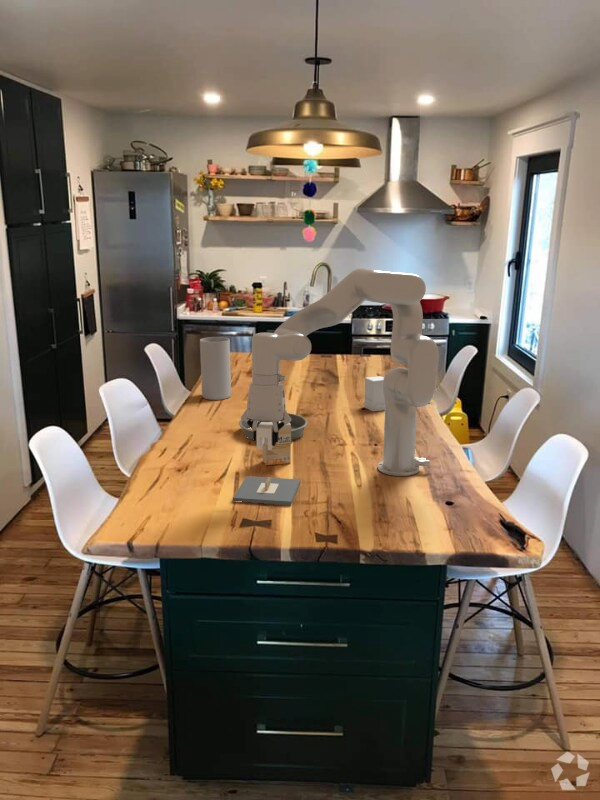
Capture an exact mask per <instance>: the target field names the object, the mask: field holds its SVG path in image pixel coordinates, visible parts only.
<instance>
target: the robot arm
mask: <svg viewBox="0 0 600 800" xmlns="http://www.w3.org/2000/svg"><path fill="white" fill-rule="evenodd" d="M426 289H427V288H426V282H425V281H424V279H423V278H422V277H421V276H420V275H418V274H415V273H408V272H403V271H393V270H390V271H384V270H378V269H371V268H370V269H369V268H356V269H354V270H352V271H351V272H349V274H347V275H346V276H345V277H344V278H342V279H341V281H339V282H338V283H337V284H336V285H335V286H334V287H333V288H331V290H329V291H328V292H327V293H326V294H325V295H324V296H322V297H321V298H320V299H318V300H317V301H314V302H312V303H310V304H309V305H307V306H306V307H303V308H301V309H300V310H298V311H296V312H295V313H293V314H292V315H291V316H289V317H288V318H287V319H286V320H285V321H284V322H282V323H281V324H280V325H279V326H278V327H277V328H276V329H275V330H274V332H268V331H267V332H258V333H254V335H253V336H252V338H251V382H250V383H249V387H248V392H247V404H246V409H245V410H244V412H243V414H242V415H241V416H240V420H241V419H242V420H243V421H244V422H246V423H247V424H248V425H249V426H250V427H251V428H252V430H253V431H254V440H253V441H254V442H255V443H254V444H255V446H257V440H256V428H257V427H258V425H259V421H272V423H273V432H272V445H273V446H275V444H276V442H278V435H279V430H280V429H281V428H282V427H283V426H284V425H286V424H288V423H290V422H291V418H290V416H289V414H288V413H289V412H287V410H286V407H287V406H286V395H285V394H286V393H285V387H284V383H283V382H284V381H286V375H282V372H281V361H291V362H296V361H302V360H304V359H306V358H307V357H309V355H310V353H311V351H312V343H311V340H310V339H309V337H308V335H310V334H312V333H313V332H315V331H318V330H319V329H323V328H328V327H333V326H336V325H338V324H341V323H342V322H343V321H344V320H345V319H346V318H347V317H349V316H350V315H351V314H352V313H353V312H354V311H356V309H358V307H360V306H361V305H362V304H363V303H364V302H371V303H378V304H387V305H389V307H390V308H391V312H392V331H391V341H390V355H391V358H392V359H393V360H394V361H395V362H397V363H399V364H402V365H403V366H404V365H405V366H407V368H406V367H401V366H400V367H393V368H392V369H389V370H388V371H387V372H386V373H385V375H384V380H383V394H384V401H385V410H384V425H383V428H384V429H383V451H382V452H383V453H382V455H383V457H382V459H383V460H381V461H379V462H378V464H377V469H378V471H380V473H383V474H385V475H388V476H394V477H407V476H408V477H409V476H413V475H416V474H417V473H418V472H420V466H421V467H430V466H431V465H430V464H431V463H430V460H429V459H427V460H426V458H425V457H418V456H417V454H416V439H417V421H418V420H417V419H418V417H417V416H418V413H417V408H423V407H426V406H427V405H429V404H430V403H431V401H432V399H433V398H434V395H435V393H436V388H437V387H436V386H437V379H438V378H437V377H438V372H439V371H438V370H439V360H440V354H439V353H440V352H439V349H438V345H437V343H436V342H435V341H434V340H433V339H432V338H431V337H429V336H426V335H423V321H424V316H423V315H424V313H423V308H422V304H421V300H423V299H424V297H425V296H426V295H425V294H426V291H427V290H426ZM282 381H283V382H282ZM283 417H284V419H285V420H283V421H281V420H282V419H283ZM253 420H254V421H253ZM279 421H281V422H280V423H279Z"/></svg>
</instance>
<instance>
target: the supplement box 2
mask: <svg viewBox="0 0 600 800" xmlns="http://www.w3.org/2000/svg"><path fill="white" fill-rule="evenodd" d="M384 377H385V376H384ZM384 377H383V376H381V375H379V376H378V375H377V376H369V377H368V376H367V377H364V405H363V407H364V408H365V409H368V410H369V411H370V412H380V411H385V401H384V394H383V380H384Z"/></svg>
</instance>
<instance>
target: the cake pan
mask: <svg viewBox="0 0 600 800" xmlns="http://www.w3.org/2000/svg"><path fill="white" fill-rule="evenodd" d="M287 413H288V414H289V416H290V418H291V422H290V424H291V441H293V439H294V440H296V439H299V438H301V437H302V436H303V434H304V430H305V427H307V425H308V420H307V419H306V418H305V417H303V416H302V415H298V414H294V413H290V412H287ZM283 420H285V419H284V417H283V419H282V420H281V421H283ZM253 421H254V420H253ZM261 422H272V421H259V424H260V423H261ZM238 426H239V427H240V428H241V429H242V432H243V435H244V436H245V437H246V438H247V437H248V438H247V439H249V438H250V439H249V440H252V439H254V431H253V430H251V429H248V428H250V426H249V425H248V424H247V423H246V422H244V421H243V420H242V419H241V418H240V420H239V422H238Z"/></svg>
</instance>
